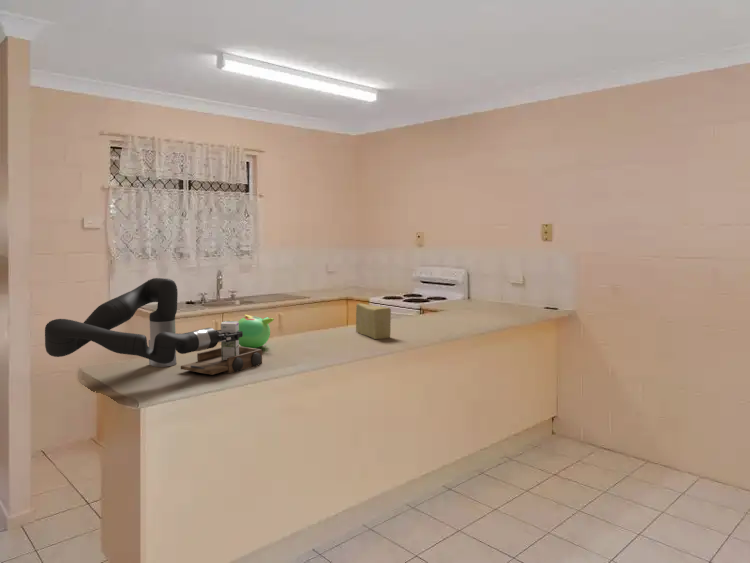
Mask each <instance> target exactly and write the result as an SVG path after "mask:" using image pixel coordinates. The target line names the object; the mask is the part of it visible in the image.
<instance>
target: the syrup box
mask: <svg viewBox="0 0 750 563" xmlns="http://www.w3.org/2000/svg"><path fill="white" fill-rule="evenodd" d="M238 321H239V320H231V321H230V320H229V321H228V320H224V321H222V322H221V323H220V330H221V331H222V332H227V331H229V332H230V333H232V332H239V322H238ZM226 335H228V334H227V333H226ZM220 345H221V347H220V348H221V358H222V360H224V361H227V358H229V357H233V356H237V355H239V346H240V345H239V340H236V341H231V342H226V341H223V342H220Z"/></svg>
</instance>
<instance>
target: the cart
mask: <svg viewBox="0 0 750 563" xmlns="http://www.w3.org/2000/svg"><path fill="white" fill-rule="evenodd" d="M196 357H197V359H196V360H197V362H203V363H209V364H215V365H221V366H227V367H228V370H226V371H223V372H222V373H224V372H225V374H233V373H236V372H241V370H245V369H248V367H249V368H252V367H257V366H256V365H258V366H259V365H261V364H260V363H262V364H263V349H262V348H261V349H260V348H248V347H243V346H241V345H239V355H237V356H233V357H229V358H227V361H224V360H222V358H221V347H218V348H214V349H213V348H212V349H208V350H206V351H205V350H204V351H202V352H201V351H200V352H198V353H197V355H196ZM251 366H252V367H251Z"/></svg>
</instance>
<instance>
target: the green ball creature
mask: <svg viewBox="0 0 750 563" xmlns="http://www.w3.org/2000/svg"><path fill="white" fill-rule="evenodd" d="M243 316H245V317H241V319H239V320H237V321H238V322H239V331H242V332H243V336H242V337H240V338H239V346H241V347H248V348H255V349H259V348H260V347H263V346H264V345H265V344H267V342H268V341H269V338H270V337H271V336H270V335H271V328H270V323H272V322H273V321H274V320H275V319H274V318H272V317H271V318H270V317H269V316H267V317H264V318H262V317H259V316H255V315H249V314H244V315H243Z"/></svg>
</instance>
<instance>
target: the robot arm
mask: <svg viewBox="0 0 750 563" xmlns="http://www.w3.org/2000/svg"><path fill="white" fill-rule="evenodd" d="M151 303H157V307H156V310H154V311H152V312H150V314H149V340H148V339H147V336H146V335H145V334H140V333H131V332H122V331H115V330H113V329H114V328H116V327H119V326H120V325H122V324H124V323H127V321H129V320H131V319H132V318H133V316H134V315H135V314H136V312H137V311H138V310H139V309H141V308H142V307H144V306H146V305H148V304H151ZM177 311H178V286H177V284H176V282H175V280H173V279H171V278H164V277H163V278H161V277H153V278H150V279H148V280H146V281H145V282H144V283H142V284H141V285H138V286H137V287H136V288H134V289H132V290H129V291H128V292H126V293H123V294H121V295H119V296H117V297H114V298H112V299H110V300H108V301H106V302H104V303H101V304H100V305H98V306H97V307H96V308H95V309H94V310H93V311H91V313H90V314H89V316H88V317H87V318H86V319H85V320H84V322H81V321H77V320H73V319H67V318H56V319H52V320H50V321H48V322H47V323H46V325H45V328H44V347H45V351H46V353H47V354H48V355H49V356H51V357H55V358H60V357H66V356H68V355H71V354H73V353H75V352H76V351H78V350H79V349H80V348H83V347H84V346H86V345H87V344H88V343H90V342H93V343H95V344H97V345H99V346H101V347H102V348H105V349H107V350H108V351H111V352H113V353H117V354H121V355H129V356H137V357H141V358H145V359H147V360H148V364H149V365H150V366H151V367H155V368H165V367H171V366H175V365H177V353H179V354H181V355H184V354H189V353H194V352H201V351H205V350H206V351H207V350H211V349H213V348H214V349H215V347H217V345H218V343H221V342H223V341H226V342H231V341H236V340H239V338H240V337H242V336H243V332H242V331H239V332H232V333H230V332H229V331H227V332H222V331H221V329H214V328H213V327H205V328H199V329H195V330H193V331H190V332H184V333H176V332H177V330H176V315H177ZM226 333H227V334H228V335H226Z"/></svg>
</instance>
